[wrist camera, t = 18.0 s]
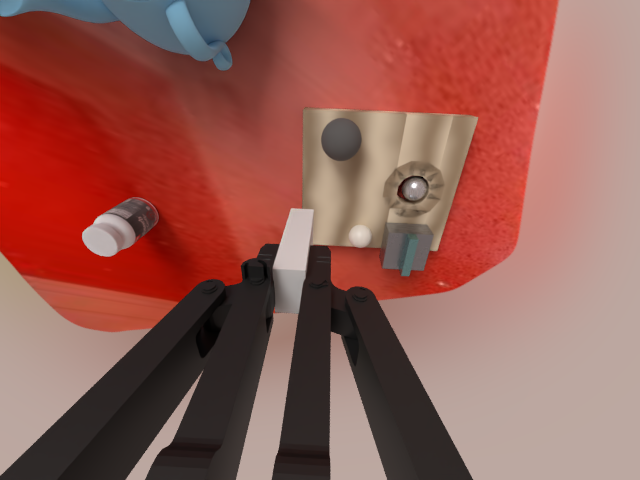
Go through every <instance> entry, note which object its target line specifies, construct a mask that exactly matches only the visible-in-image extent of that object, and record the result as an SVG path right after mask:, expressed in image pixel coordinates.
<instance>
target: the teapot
mask: <svg viewBox="0 0 640 480" xmlns="http://www.w3.org/2000/svg"><path fill="white" fill-rule="evenodd" d="M249 4H250V0H0V16H3V17H9V16H15V15H18V14H22V13H26V12H30V11H46V12H53V13H57V14H61V15H65V16H68V17H71V18H74V19H78V20H82V21H85V22H91V23H109V22H115V21H121V22H122V23H123V24H124V25H126V26H127V27H128V28H129V29H131V30H132V31H133V32H134V33H136V34H137V35H139V36H140V37H142V38H143V39H145V40H146V41H148V42H150V43H152V44H154V45H156V46H158V47H160V48H162V49H165V50H168V51H170V52H174V53H179V54H184V55H190V56H191V57H193V58H194V59H196V60H198V61H208V60H210V59H213V62H214V64H215V65H216V67H217V68H218V69H219V70H222V71H224V70H228V69H229V68H230V67H231V66H232V56H231V53H230V50H229V48H228V46H227V45H226V44H225V43H226V42H227V41H228V40H229V39H230V38H231V37H232V36H233V35H234V34H235V33H236V31H237V30H238V28H239V27H240V26H241V24H242V22H243V20H244V18H245V16H246V13H247V10H248V8H249Z"/></svg>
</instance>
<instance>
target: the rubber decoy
mask: <svg viewBox="0 0 640 480" xmlns="http://www.w3.org/2000/svg"><path fill="white" fill-rule="evenodd" d="M361 142H362V137H361V132H360V129H359V127H358V126H357V125H356V124H355V123H354V122H353V121H351V120H349V119H346V118H337V119H334V120H332V121H331V122H329V123H328V124H327V125H326V127H325V128H324V130H323V132H322V136H321V144H322V148H323V150H324V152H325V153H326V155H327V156H329V157H330V158H331V159H333V160H336V161H345V160H348V159H350V158H352V157H353V156H355V155H356V153H357V152H358V150H359V149H360V146H361Z"/></svg>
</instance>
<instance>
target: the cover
mask: <svg viewBox="0 0 640 480" xmlns="http://www.w3.org/2000/svg"><path fill="white" fill-rule="evenodd" d="M433 236H434V234H433V233H432V231H431V230H430V228H429V226H428V225H426V224H407V223H388V222H385V228H384V233H383V239H382V244H381V250H380V255H379V258H380V262H381V266H382V268H384V269H399V271H400V274H401V276H409V275H410V271H411V270H421V271H424V267H425V264H426V260H427V257H428V254H429V250H430V247H431V243H432V240H433Z"/></svg>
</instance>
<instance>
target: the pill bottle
mask: <svg viewBox="0 0 640 480" xmlns="http://www.w3.org/2000/svg"><path fill="white" fill-rule="evenodd" d="M158 219H159V216H158V212H157V210H156V208H155V207H154V206H153V205H152V204H151V203H150V202H148V201H147V200H145V199H142V198H138V197H133V198H129V199H127V200H125V201H124V202H122V203H120V204H119V205H117V206H115V207H114V208H112V209H110V210H109V211H107V212H105V213H104V214H102V215H100V216H99V217H98V218H96V220H95V221H94V223H93V225H91V226H90V227H88V228H87V229H85V230H84V232H83V234H82V239H83V242H84V243H85V245H86V246H87V247H88V248H89V249H90V250H91V251H92V252H94V253H96V254H98V255H101V256H107V257H108V256H113V255H115V254H116V253H117V252H119V251H120V250H121V249H126V248H128V247H130V246H131V245H133V244H134V243H135V242H136V241H138V240H139V239H140V238H141V237H142V236H144V235H145V234H146V233H147V232H148V231H149V230H151V229H152V228H153V227H154V226H155V225H156V224H157V222H158Z"/></svg>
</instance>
